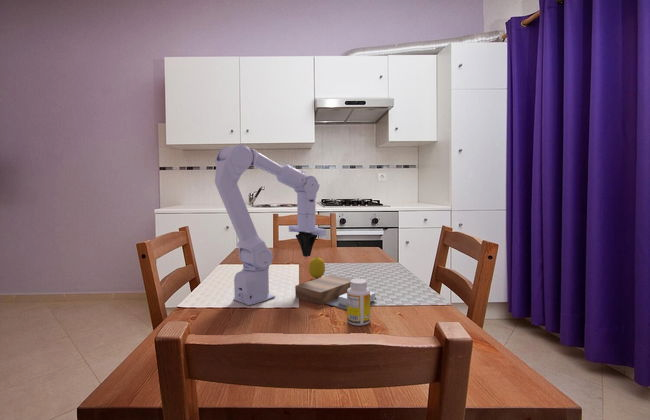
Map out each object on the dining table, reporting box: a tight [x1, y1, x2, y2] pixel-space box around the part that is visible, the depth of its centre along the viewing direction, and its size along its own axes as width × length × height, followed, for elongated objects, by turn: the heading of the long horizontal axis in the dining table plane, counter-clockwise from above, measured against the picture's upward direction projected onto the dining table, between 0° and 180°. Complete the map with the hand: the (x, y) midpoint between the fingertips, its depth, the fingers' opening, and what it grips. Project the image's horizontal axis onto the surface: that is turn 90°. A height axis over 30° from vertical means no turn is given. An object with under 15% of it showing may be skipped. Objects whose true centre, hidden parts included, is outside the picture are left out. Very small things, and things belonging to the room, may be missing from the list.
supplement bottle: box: [346, 278, 371, 327], centre depth 90 cm, size 6×6×10 cm
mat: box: [325, 296, 377, 311], centre depth 106 cm, size 13×8×1 cm, turn 139°
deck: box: [294, 274, 354, 306], centre depth 112 cm, size 16×10×4 cm, turn 139°
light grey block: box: [339, 291, 376, 306], centre depth 104 cm, size 9×6×2 cm, turn 139°
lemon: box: [308, 256, 326, 280], centre depth 128 cm, size 6×6×8 cm
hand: (306, 256), depth 119 cm, fingers closed
